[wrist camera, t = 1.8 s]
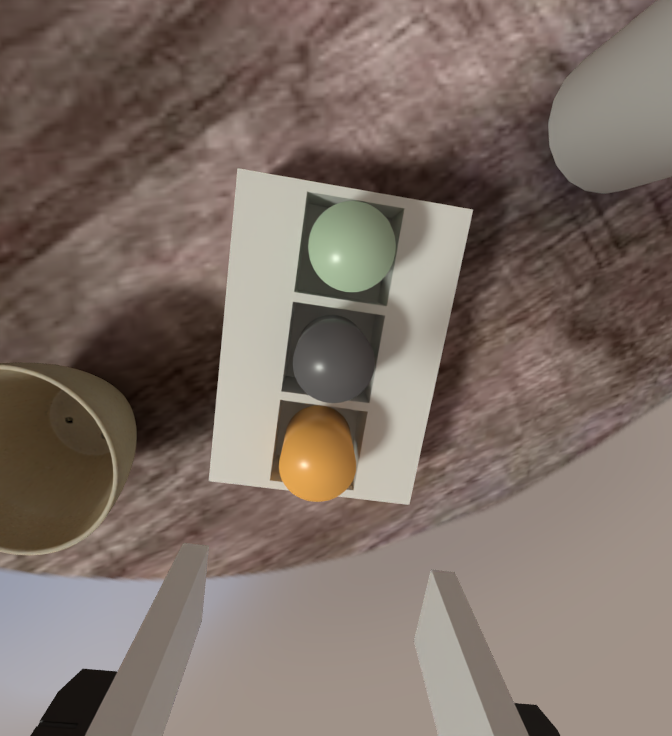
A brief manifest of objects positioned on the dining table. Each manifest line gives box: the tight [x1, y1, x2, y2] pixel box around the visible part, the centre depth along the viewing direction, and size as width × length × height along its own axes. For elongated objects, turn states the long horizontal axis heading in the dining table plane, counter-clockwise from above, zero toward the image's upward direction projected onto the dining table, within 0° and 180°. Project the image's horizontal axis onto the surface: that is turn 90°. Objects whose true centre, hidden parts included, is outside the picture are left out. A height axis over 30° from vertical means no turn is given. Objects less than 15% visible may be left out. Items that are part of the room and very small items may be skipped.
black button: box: [293, 315, 375, 403], centre depth 21 cm, size 4×4×4 cm
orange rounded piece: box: [279, 405, 356, 502], centre depth 23 cm, size 4×4×4 cm
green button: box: [308, 201, 396, 292], centre depth 20 cm, size 4×4×4 cm
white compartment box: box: [209, 168, 473, 505], centre depth 24 cm, size 17×12×4 cm
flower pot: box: [0, 363, 137, 555], centre depth 23 cm, size 10×10×7 cm
